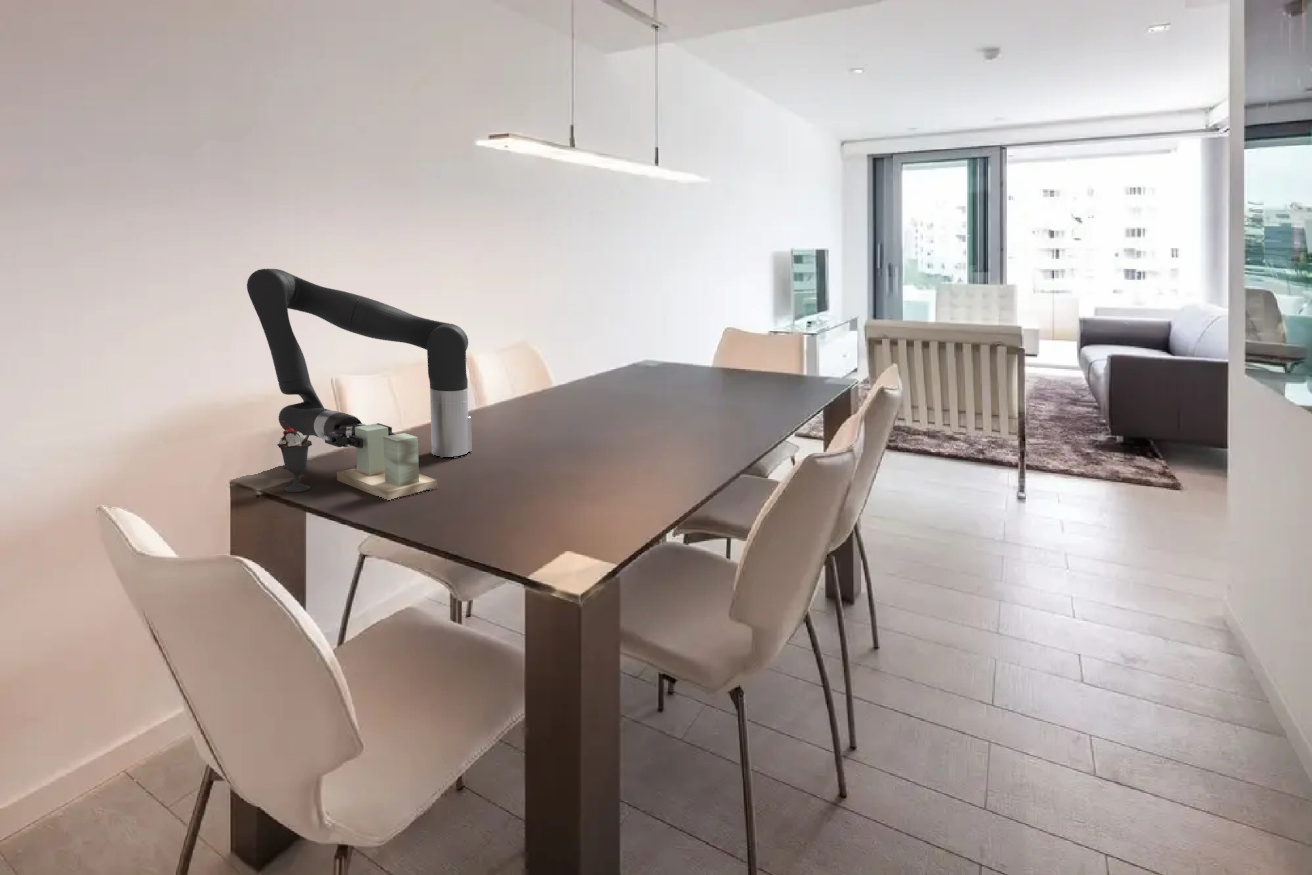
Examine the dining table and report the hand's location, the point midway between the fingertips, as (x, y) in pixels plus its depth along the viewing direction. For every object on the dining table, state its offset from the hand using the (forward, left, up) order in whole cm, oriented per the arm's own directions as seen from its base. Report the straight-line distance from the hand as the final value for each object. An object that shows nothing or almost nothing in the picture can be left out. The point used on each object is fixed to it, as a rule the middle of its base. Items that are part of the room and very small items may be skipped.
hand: (377, 440), depth 162 cm
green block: (0, -2, -7) cm, 8 cm away
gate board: (0, +3, -9) cm, 10 cm away
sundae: (+15, -7, -10) cm, 19 cm away
